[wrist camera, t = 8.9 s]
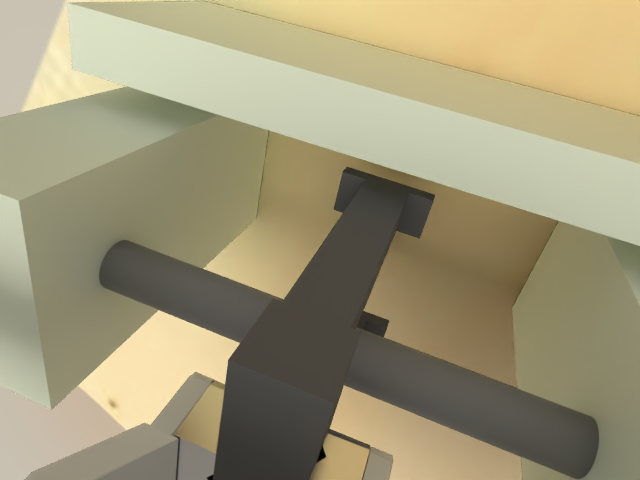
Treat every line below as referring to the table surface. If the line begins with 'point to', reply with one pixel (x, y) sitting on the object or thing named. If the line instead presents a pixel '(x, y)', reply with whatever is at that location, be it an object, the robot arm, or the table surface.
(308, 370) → the dark grey flanged post
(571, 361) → the lever switch frame
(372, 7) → the table surface
